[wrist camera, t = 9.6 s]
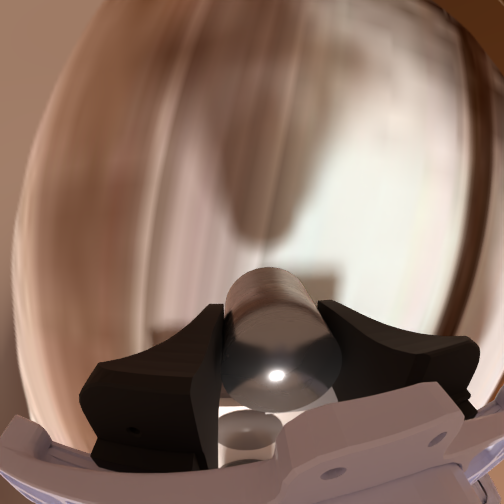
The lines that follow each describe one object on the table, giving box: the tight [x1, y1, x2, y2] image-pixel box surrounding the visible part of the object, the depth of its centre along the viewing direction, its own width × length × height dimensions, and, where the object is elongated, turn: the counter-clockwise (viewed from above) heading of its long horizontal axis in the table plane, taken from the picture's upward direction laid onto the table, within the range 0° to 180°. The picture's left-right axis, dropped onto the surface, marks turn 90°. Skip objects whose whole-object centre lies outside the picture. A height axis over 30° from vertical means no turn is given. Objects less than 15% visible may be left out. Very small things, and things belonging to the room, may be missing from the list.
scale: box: [218, 383, 338, 468], centre depth 17 cm, size 13×15×5 cm
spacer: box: [221, 267, 342, 413], centre depth 11 cm, size 4×4×5 cm
